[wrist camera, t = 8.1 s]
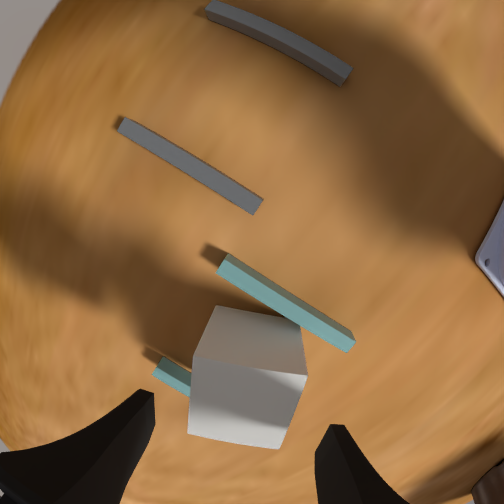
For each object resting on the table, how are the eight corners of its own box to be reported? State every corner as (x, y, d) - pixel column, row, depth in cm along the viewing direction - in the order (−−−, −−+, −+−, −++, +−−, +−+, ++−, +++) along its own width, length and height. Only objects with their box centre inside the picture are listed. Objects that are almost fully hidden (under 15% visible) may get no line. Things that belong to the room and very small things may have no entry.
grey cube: (298, 319, 15) (307, 375, 10) (278, 388, 16) (279, 449, 12) (216, 304, 15) (193, 355, 11) (206, 375, 17) (187, 433, 12)
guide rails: (458, 171, 13) (470, 171, 11) (264, 420, 17) (263, 433, 16) (217, 10, 11) (213, -1, 10) (61, 292, 16) (51, 298, 15)
